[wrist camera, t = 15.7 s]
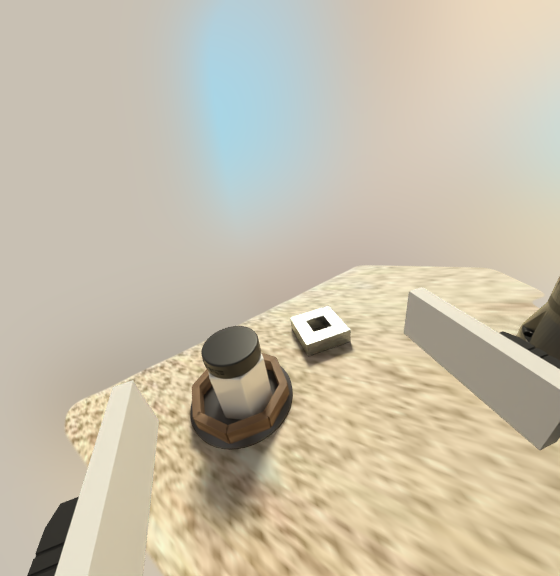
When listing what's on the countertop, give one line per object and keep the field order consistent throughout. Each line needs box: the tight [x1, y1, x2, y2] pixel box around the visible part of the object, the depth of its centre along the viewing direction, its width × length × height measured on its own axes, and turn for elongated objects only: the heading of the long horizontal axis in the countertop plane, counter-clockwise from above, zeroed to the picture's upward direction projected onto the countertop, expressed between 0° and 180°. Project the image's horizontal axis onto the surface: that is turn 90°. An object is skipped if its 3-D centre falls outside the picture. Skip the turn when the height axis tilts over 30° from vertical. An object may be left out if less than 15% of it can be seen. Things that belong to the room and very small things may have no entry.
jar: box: [202, 326, 273, 420], centre depth 40 cm, size 9×8×12 cm
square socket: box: [290, 306, 350, 356], centre depth 53 cm, size 9×9×3 cm
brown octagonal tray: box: [191, 353, 293, 449], centre depth 43 cm, size 17×17×3 cm
